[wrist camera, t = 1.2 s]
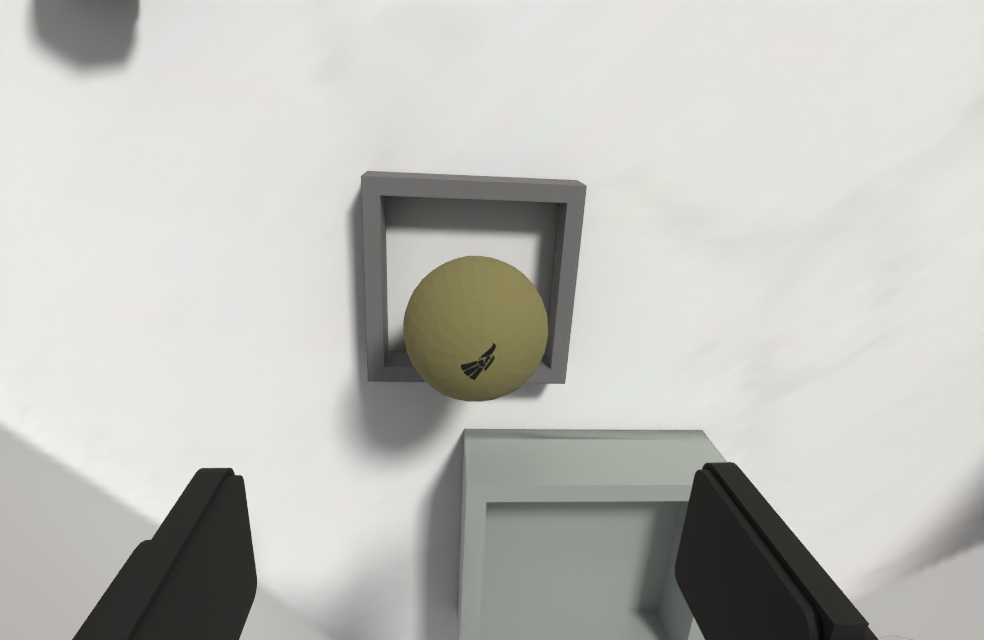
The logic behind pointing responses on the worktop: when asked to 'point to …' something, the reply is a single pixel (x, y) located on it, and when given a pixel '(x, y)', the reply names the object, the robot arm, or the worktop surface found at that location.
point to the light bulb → (475, 328)
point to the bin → (576, 533)
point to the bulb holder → (469, 187)
